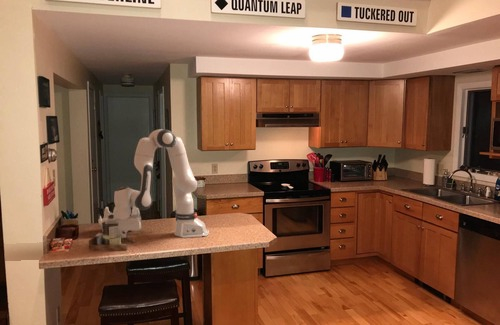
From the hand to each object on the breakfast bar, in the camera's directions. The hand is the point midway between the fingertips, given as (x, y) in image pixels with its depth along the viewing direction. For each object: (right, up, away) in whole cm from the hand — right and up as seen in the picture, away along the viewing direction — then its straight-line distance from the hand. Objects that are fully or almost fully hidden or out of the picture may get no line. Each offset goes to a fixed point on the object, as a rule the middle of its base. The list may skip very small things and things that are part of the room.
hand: (123, 237), depth 232 cm
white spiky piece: (-13, -2, +31) cm, 34 cm away
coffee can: (-7, -5, +1) cm, 9 cm away
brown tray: (-7, -5, +1) cm, 9 cm away
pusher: (-14, -5, 0) cm, 15 cm away
